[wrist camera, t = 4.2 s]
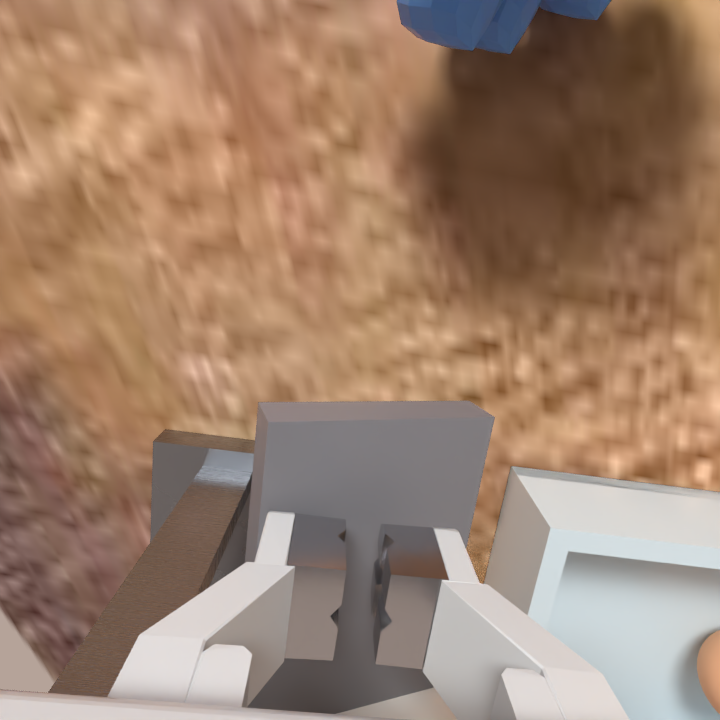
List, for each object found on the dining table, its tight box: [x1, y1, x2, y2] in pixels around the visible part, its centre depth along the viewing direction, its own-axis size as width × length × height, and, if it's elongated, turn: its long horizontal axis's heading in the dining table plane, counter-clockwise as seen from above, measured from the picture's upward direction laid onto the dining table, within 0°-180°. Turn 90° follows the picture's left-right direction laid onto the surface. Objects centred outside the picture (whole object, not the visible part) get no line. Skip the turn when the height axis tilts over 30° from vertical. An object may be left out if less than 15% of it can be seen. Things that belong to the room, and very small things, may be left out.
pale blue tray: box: [484, 466, 720, 720], centre depth 20 cm, size 14×14×4 cm
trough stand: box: [48, 430, 255, 697], centre depth 16 cm, size 6×13×13 cm, turn 173°
